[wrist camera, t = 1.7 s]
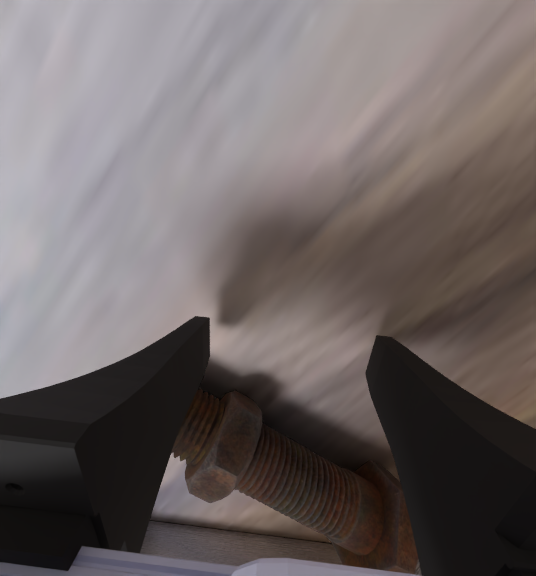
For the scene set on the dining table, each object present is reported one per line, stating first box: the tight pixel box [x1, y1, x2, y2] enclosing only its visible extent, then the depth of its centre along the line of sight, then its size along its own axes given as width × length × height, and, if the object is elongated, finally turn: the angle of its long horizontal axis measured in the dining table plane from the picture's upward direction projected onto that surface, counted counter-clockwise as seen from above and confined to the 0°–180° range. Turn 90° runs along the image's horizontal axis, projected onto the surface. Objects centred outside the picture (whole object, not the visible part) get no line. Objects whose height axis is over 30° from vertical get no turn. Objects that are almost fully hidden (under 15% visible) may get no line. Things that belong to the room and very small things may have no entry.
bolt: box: [171, 389, 418, 574], centre depth 14 cm, size 6×5×15 cm
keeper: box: [140, 521, 422, 576], centre depth 17 cm, size 12×23×4 cm, turn 85°
